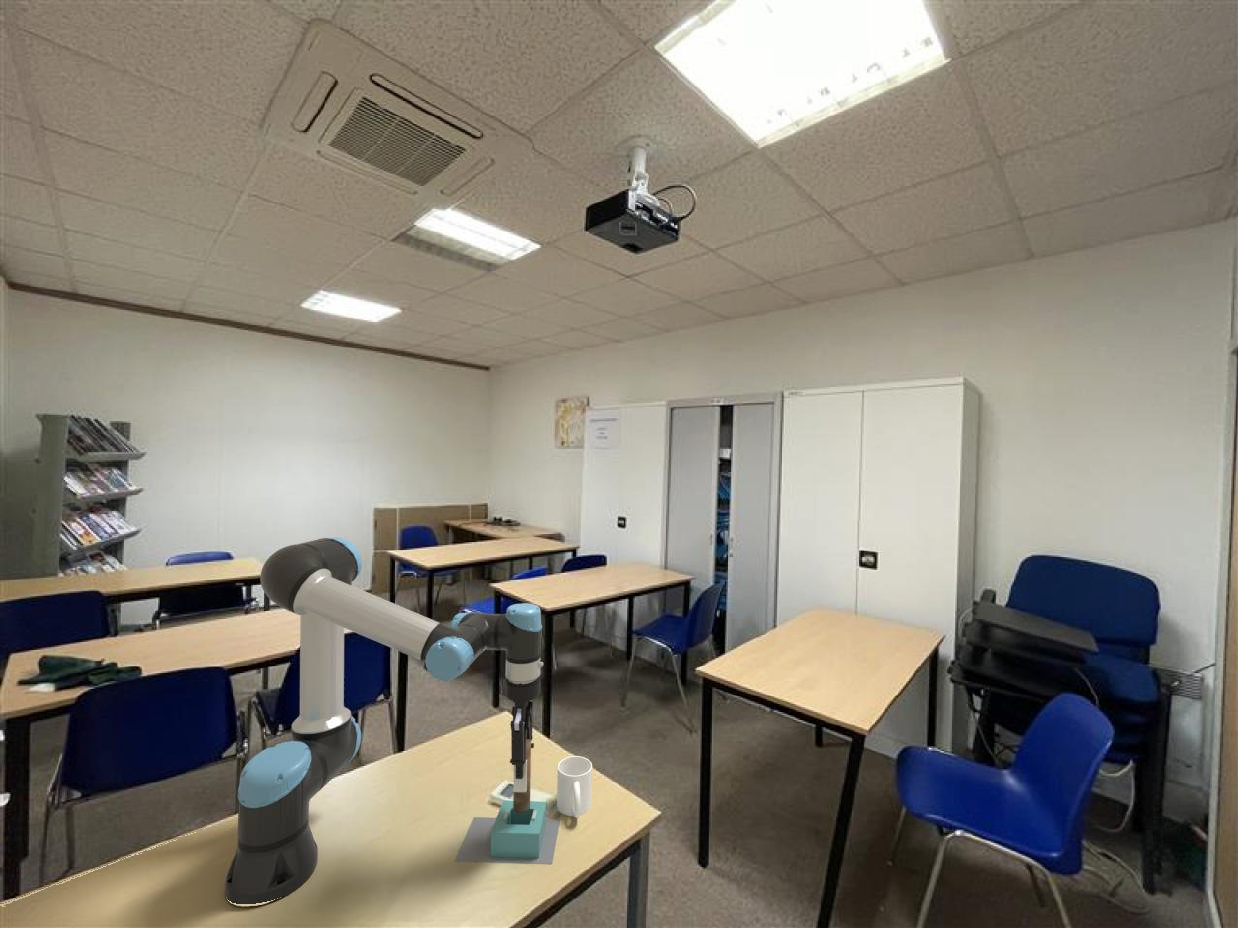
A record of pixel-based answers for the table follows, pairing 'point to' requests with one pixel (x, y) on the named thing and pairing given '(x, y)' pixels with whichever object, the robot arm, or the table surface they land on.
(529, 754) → the wooden rounded dowel
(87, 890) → the table surface
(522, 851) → the teal square peg holder
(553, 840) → the board
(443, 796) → the table surface
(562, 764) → the mug
